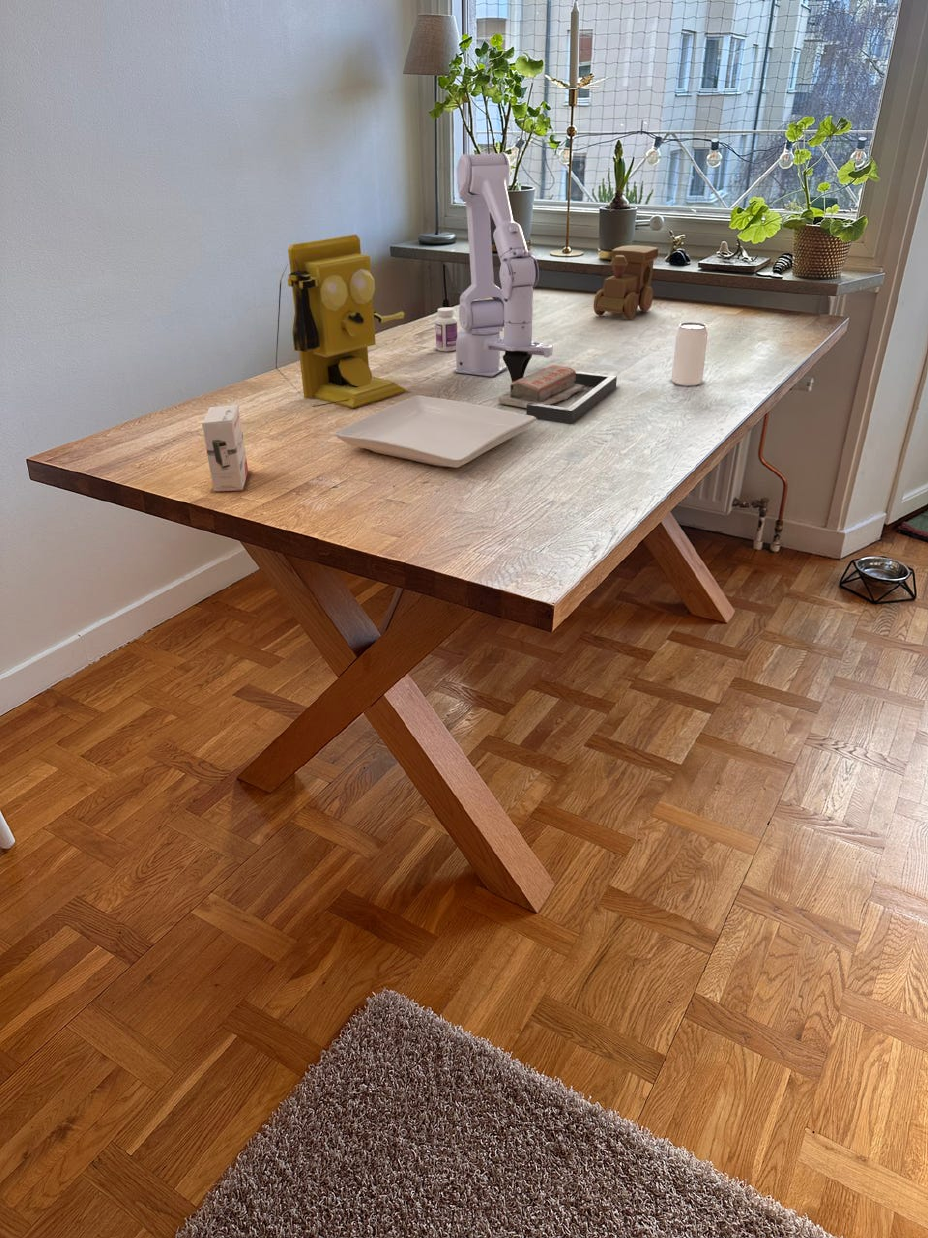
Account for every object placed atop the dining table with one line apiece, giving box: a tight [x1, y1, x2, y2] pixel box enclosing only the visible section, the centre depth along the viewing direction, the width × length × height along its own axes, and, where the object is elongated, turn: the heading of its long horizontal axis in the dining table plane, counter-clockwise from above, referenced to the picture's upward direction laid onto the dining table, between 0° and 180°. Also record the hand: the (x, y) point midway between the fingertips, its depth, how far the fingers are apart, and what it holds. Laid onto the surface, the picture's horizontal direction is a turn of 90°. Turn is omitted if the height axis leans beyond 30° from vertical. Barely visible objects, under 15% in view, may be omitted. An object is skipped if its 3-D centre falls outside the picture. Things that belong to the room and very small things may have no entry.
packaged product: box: [498, 364, 585, 409], centre depth 185 cm, size 18×5×10 cm
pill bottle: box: [434, 306, 459, 352], centre depth 219 cm, size 5×5×10 cm
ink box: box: [201, 404, 249, 492], centre depth 146 cm, size 9×5×12 cm, turn 5°
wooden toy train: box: [593, 244, 659, 320], centre depth 248 cm, size 20×11×17 cm, turn 147°
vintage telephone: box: [275, 234, 407, 410], centre depth 181 cm, size 31×14×30 cm, turn 137°
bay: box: [525, 370, 618, 424], centre depth 182 cm, size 10×26×2 cm, turn 153°
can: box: [671, 321, 709, 387], centre depth 191 cm, size 6×6×12 cm
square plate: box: [332, 394, 537, 468], centre depth 162 cm, size 27×27×4 cm
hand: (517, 387), depth 187 cm, fingers closed
